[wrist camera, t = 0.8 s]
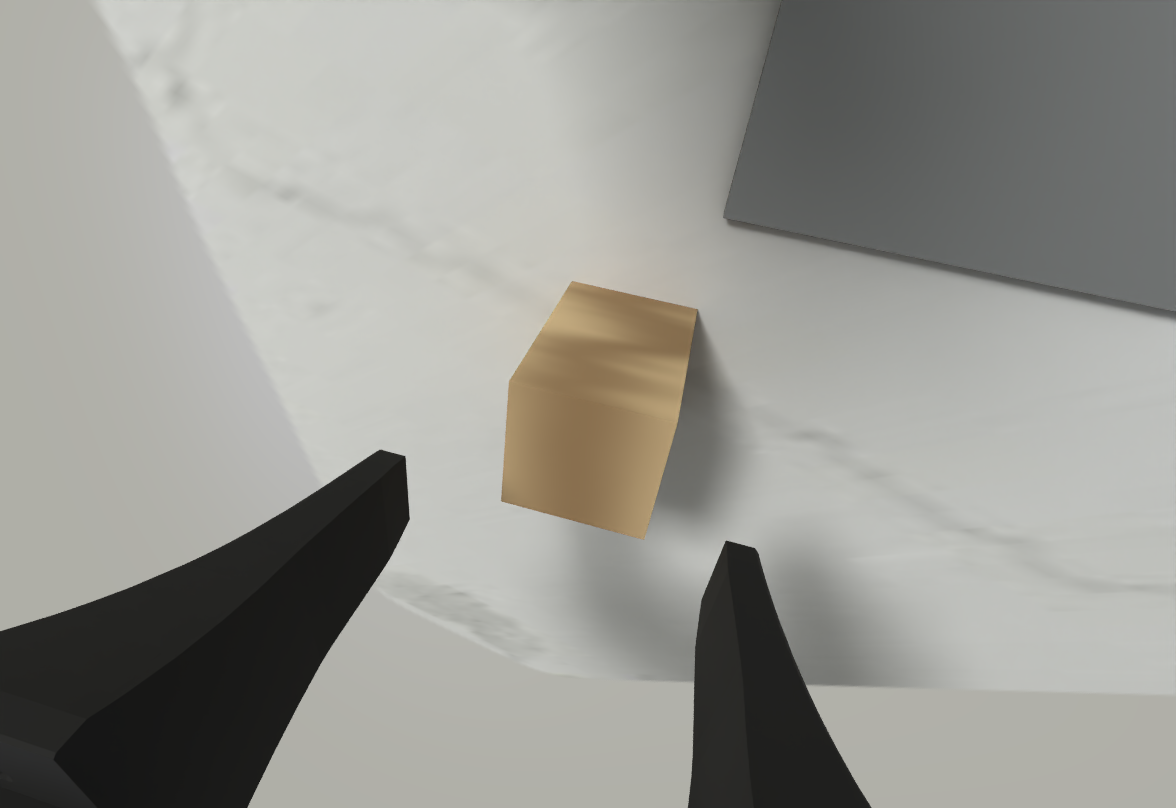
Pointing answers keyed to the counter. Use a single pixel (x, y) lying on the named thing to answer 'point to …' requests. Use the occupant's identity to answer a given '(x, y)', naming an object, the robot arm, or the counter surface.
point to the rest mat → (975, 137)
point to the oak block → (597, 408)
